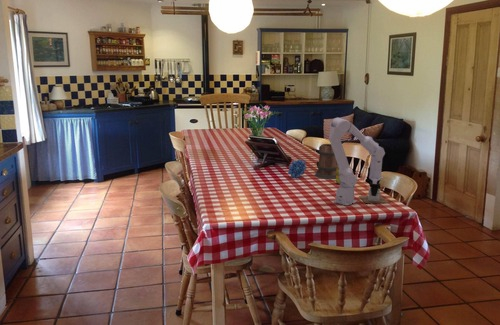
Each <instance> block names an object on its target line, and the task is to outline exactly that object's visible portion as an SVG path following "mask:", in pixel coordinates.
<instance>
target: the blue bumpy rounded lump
mask: <svg viewBox="0 0 500 325" xmlns="http://www.w3.org/2000/svg"><path fill="white" fill-rule="evenodd" d="M307 168H308V167H307V165H306V161H305V160H302V159H301V158H298V159H297V160H293V161H292V162H291V164H289V166H288V169H289V170H288V171H287V174H288V175H290V178H296V179H298V178H300V177H301V176H303V175H304V174H305V171H306V170H307Z"/></svg>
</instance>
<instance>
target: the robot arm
mask: <svg viewBox="0 0 500 325" xmlns="http://www.w3.org/2000/svg"><path fill="white" fill-rule="evenodd" d="M329 128H330V129H329V135H328V139H329V144H331V146H332V149H333V152H334V155H335V158H336V161H337V164H338V167H339V171H338V172H339V180H340V181H341V183H340V185H339V187H338V188H337V189H336V190H335V200H334V203H337V204H339V205H344V206H349V205H352V203H353V204H355V203H357V202H358V201H357V200H356V199H355V188H356V187H355V186H356V185H357V183H358V178H357V176H356V175H355V174H354V171H353V170H352V168H351V166H350V163H349V161H348V158H347V155H346V153H345V149H344V147H343V143H342V137H343V136H344V135H345V134H347V133H350V134H352V135H353V136H354V137H355V138H356V139H357V140H359V141H360V145H361V146H362V147H363V148H364V149H365V150H366V151H367V152H368V153H369V154H370V165H369V175H368V178H369V182H368V185H369V188H371V194H372V196H376V194H377V191H378V189H380V186H381V183H380V181H381V180H383V179H384V177H383V176H382V169H383V168H382V167H383V158H384V156H385V154H386V152H385V149H384V147H382V146H379V143H378V142H376V141H375V140H374V139H373V137H372V136H369V135H367V136H366V135H364V134H363V133H362V132H361V130H359V129H358V128H357V127H356V126H355V125H354V123H351V122H350V121H349V120H347V119H343V118H341V117H335V118H333V119H332V121H331V122H330V123H329Z"/></svg>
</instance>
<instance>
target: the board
mask: <svg viewBox="0 0 500 325" xmlns="http://www.w3.org/2000/svg"><path fill="white" fill-rule="evenodd" d="M359 197H360V198H361V199H362V200H363V201H364V202H365V203H389V204H390V202H389V201H388V200H387V199H385V198H384V197H383V196H382V195H380V198H379V201H371V200H368V195H359V196H358V198H359ZM361 199H360V200H361ZM362 200H361V201H362ZM363 201H362V202H363ZM364 202H363V203H364ZM365 203H364V204H365Z"/></svg>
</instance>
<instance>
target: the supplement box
mask: <svg viewBox="0 0 500 325" xmlns="http://www.w3.org/2000/svg"><path fill="white" fill-rule="evenodd" d="M338 171H339V167H338V165H337V171H336V179H335V184H337V183H338V185H339V184H340V183H341V181H340V180H339V172H338Z"/></svg>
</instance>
